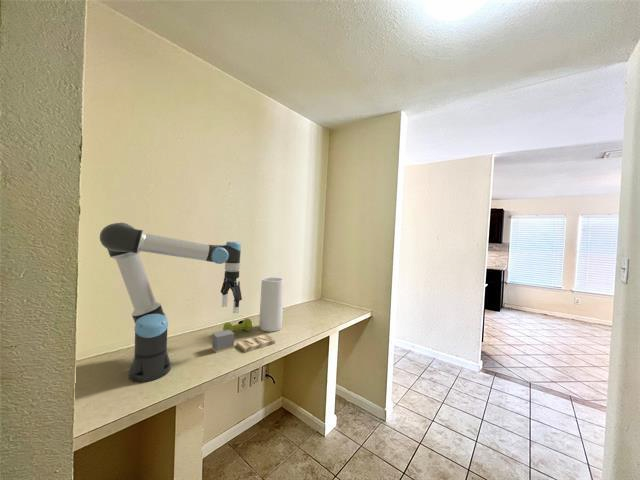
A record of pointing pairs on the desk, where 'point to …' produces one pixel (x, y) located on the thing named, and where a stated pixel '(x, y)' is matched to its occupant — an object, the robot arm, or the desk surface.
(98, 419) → the desk surface
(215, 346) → the block
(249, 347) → the board
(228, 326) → the dumbbell
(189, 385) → the desk surface
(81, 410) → the desk surface
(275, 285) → the vase
